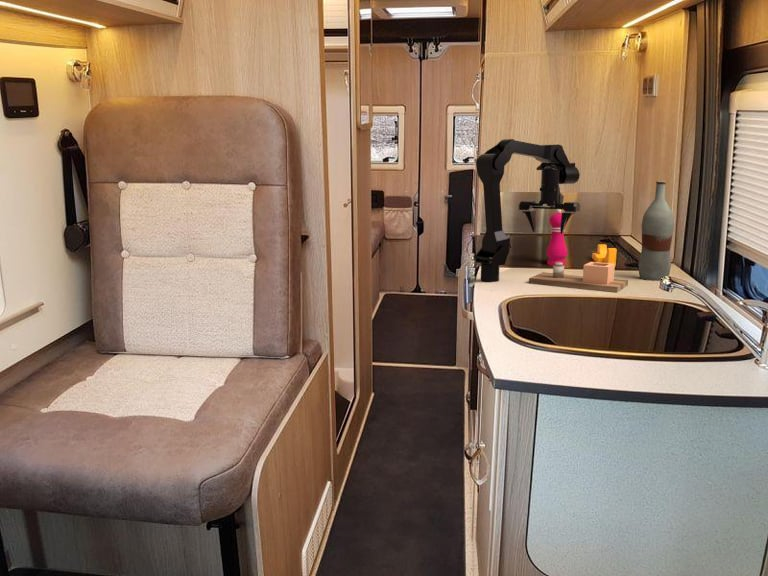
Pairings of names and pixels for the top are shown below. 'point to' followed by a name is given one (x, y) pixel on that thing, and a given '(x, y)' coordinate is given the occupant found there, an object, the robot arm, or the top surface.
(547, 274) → the collar board
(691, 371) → the top surface
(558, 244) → the pepper mill
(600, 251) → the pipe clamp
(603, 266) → the collar
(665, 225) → the bottle
